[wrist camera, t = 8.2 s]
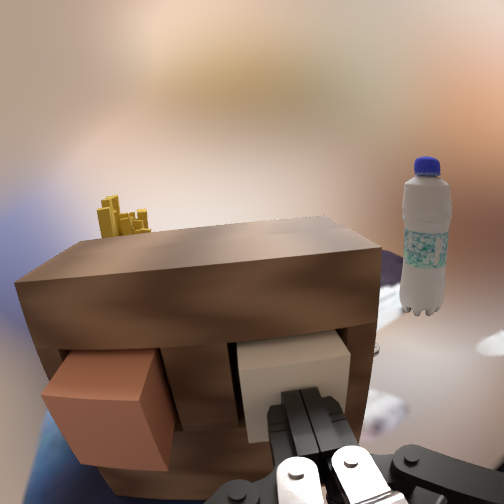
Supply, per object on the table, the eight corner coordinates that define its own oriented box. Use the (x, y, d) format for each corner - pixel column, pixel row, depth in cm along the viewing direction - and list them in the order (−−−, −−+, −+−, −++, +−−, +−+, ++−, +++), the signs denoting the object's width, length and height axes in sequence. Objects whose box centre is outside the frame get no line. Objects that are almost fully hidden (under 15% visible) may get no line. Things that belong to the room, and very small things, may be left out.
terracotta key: (176, 413, 15) (157, 344, 14) (168, 471, 11) (138, 400, 10) (101, 412, 15) (74, 345, 14) (80, 463, 11) (40, 394, 10)
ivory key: (321, 380, 17) (323, 311, 16) (342, 428, 13) (350, 354, 12) (243, 391, 17) (235, 322, 15) (248, 443, 13) (238, 370, 12)
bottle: (451, 314, 36) (462, 158, 31) (412, 324, 35) (421, 155, 30) (425, 295, 42) (430, 156, 37) (388, 303, 42) (390, 155, 36)
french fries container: (170, 331, 40) (147, 189, 35) (180, 380, 30) (146, 194, 25) (135, 337, 38) (108, 195, 34) (136, 388, 28) (92, 203, 24)
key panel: (322, 408, 24) (324, 215, 20) (349, 480, 17) (381, 247, 12) (134, 423, 23) (80, 241, 19) (115, 495, 16) (14, 282, 11)
